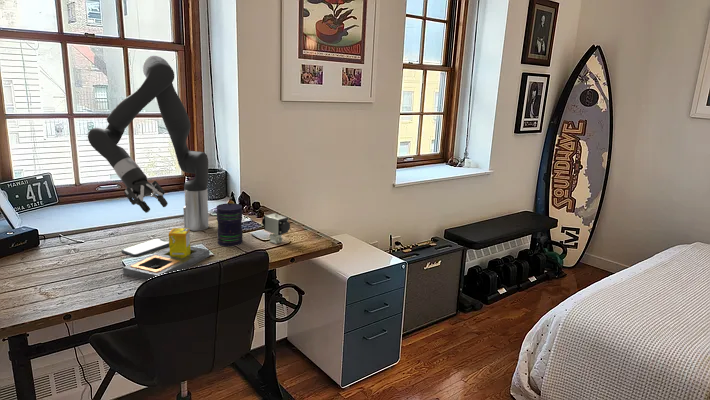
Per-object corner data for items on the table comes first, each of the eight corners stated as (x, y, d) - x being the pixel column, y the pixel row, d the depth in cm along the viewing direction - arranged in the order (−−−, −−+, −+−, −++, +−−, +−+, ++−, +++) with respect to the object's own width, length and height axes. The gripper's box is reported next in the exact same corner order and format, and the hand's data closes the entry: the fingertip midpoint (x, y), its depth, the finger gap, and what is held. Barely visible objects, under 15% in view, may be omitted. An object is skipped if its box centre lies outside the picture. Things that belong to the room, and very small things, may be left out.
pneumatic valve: (281, 247, 190) (282, 218, 187) (261, 240, 197) (261, 212, 194) (291, 243, 194) (292, 215, 191) (271, 237, 201) (271, 209, 198)
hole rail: (123, 274, 159) (122, 266, 158) (177, 249, 182) (177, 242, 182) (158, 282, 154) (157, 274, 153) (209, 256, 177) (209, 249, 177)
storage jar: (241, 246, 189) (241, 209, 185) (216, 246, 187) (214, 210, 183) (243, 238, 198) (243, 203, 195) (218, 238, 197) (217, 203, 193)
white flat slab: (135, 259, 174) (172, 246, 187) (134, 255, 173) (172, 242, 186) (120, 253, 178) (157, 241, 191) (119, 249, 177) (157, 237, 191)
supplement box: (174, 256, 176) (172, 227, 173) (191, 256, 177) (190, 228, 174) (169, 262, 170) (168, 233, 168) (187, 262, 171) (185, 233, 168)
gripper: (119, 170, 165) (147, 206, 164) (150, 163, 178) (176, 198, 177) (108, 183, 168) (136, 219, 167) (140, 176, 181) (166, 209, 180)
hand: (157, 208), depth 172 cm, fingers open, 8 cm apart
